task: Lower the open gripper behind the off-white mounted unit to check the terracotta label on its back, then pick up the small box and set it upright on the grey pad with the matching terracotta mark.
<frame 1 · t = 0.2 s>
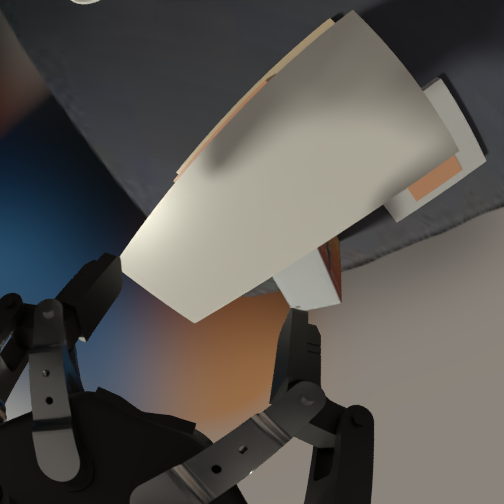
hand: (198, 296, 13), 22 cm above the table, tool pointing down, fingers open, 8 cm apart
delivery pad: (417, 151, 27), on the table
mounted unit: (280, 127, 29), on the table
small box: (309, 222, 36), on the table
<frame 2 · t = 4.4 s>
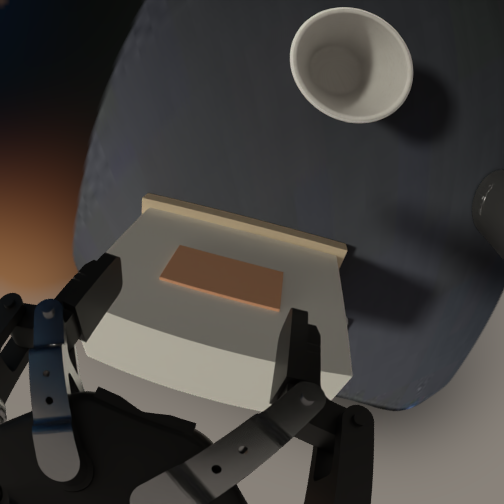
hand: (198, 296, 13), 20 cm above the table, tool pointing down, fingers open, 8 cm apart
mounted unit: (237, 252, 36), on the table
dixie cup: (334, 70, 23), on the table
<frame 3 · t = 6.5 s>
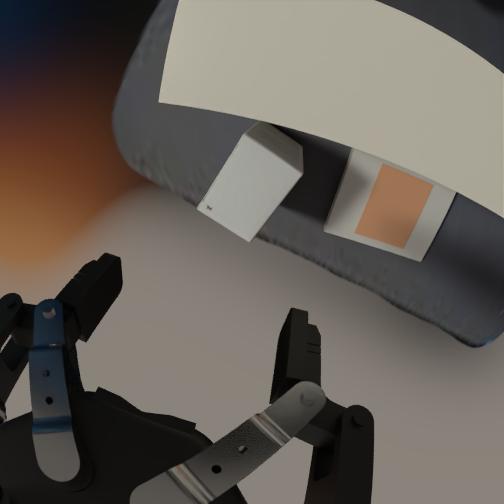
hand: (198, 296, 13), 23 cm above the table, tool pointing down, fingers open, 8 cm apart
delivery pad: (391, 204, 32), on the table
mounted unit: (342, 82, 25), on the table
small box: (263, 159, 32), on the table
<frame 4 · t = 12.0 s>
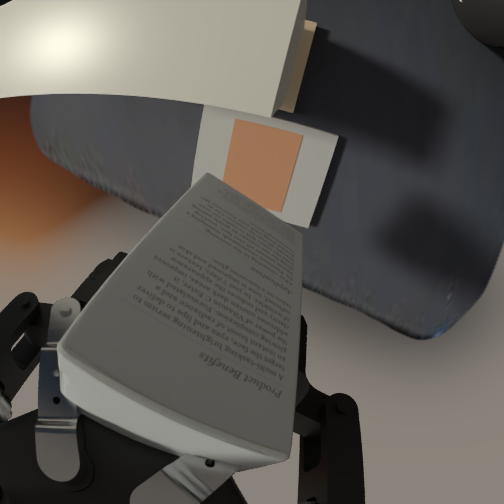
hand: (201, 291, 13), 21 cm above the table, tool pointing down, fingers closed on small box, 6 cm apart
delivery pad: (260, 163, 31), on the table
mounted unit: (191, 47, 25), on the table
small box: (218, 254, 16), point 18 cm above the table, touching gripper
when the fingers open (6 cm above the table, at t = 15.6 s): small box drops 1 cm, resting on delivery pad.
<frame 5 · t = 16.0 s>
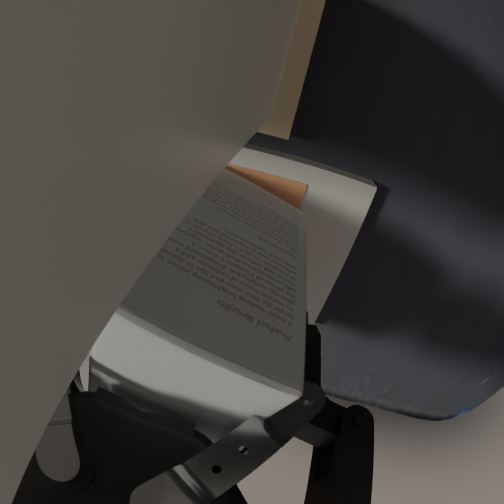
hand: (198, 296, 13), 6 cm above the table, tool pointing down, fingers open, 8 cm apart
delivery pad: (229, 230, 18), on the table
mounted unit: (105, 27, 12), on the table
small box: (230, 240, 17), point 1 cm above the table, touching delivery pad
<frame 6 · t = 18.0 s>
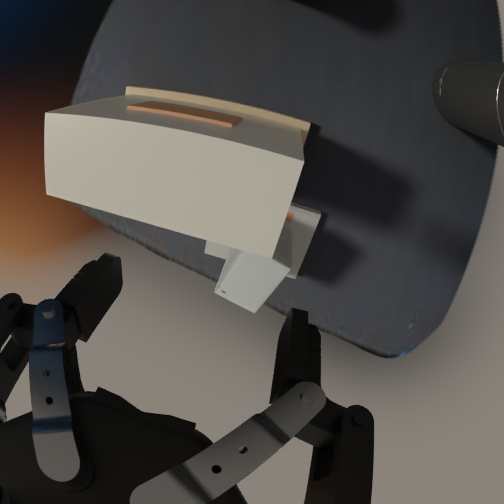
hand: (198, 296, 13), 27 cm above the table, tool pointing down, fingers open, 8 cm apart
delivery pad: (260, 230, 42), on the table
mounted unit: (207, 134, 35), on the table
small box: (261, 234, 41), point 1 cm above the table, touching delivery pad
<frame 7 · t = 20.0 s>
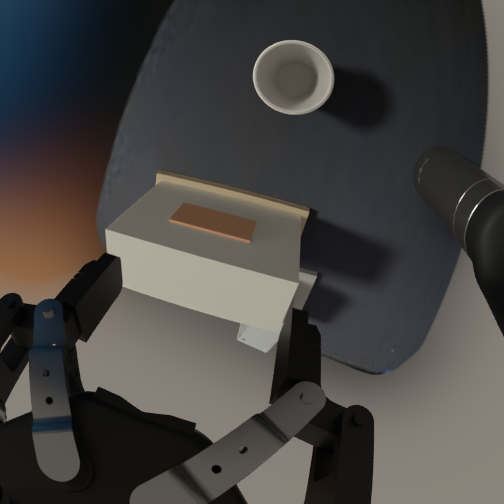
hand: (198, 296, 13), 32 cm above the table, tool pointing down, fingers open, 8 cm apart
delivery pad: (269, 285, 53), on the table
mounted unit: (226, 215, 47), on the table
dixie cup: (295, 79, 34), on the table
small box: (270, 289, 52), point 1 cm above the table, touching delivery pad
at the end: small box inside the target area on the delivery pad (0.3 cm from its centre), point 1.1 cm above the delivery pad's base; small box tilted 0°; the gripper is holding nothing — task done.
